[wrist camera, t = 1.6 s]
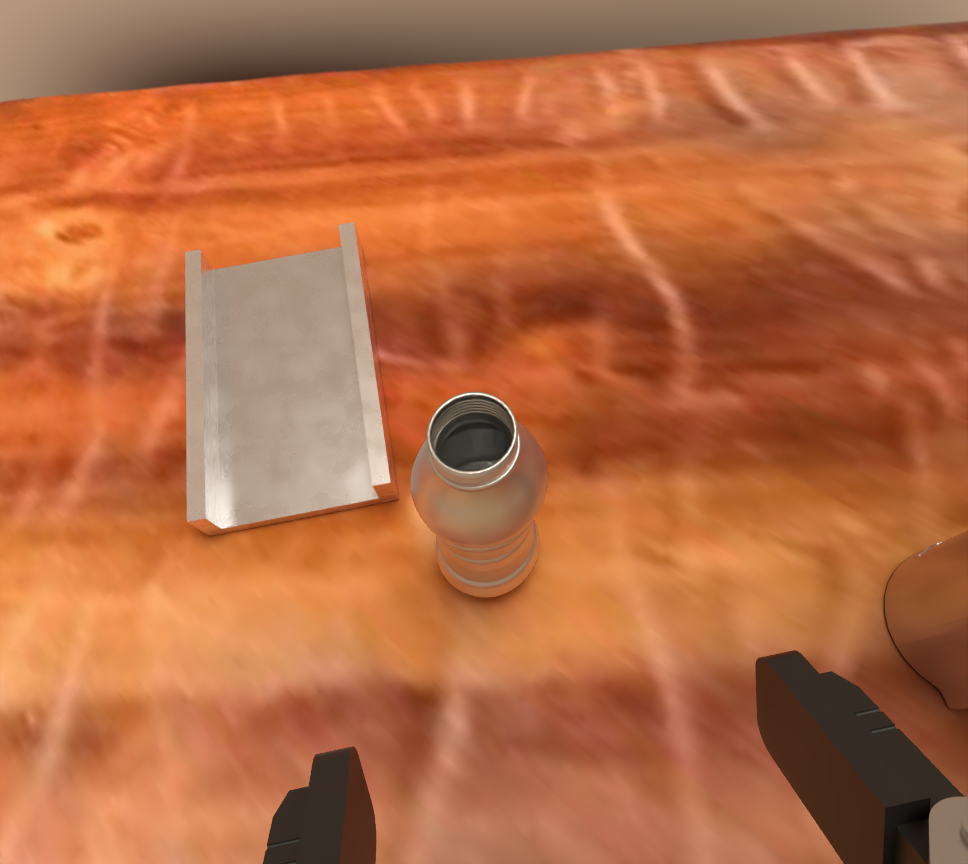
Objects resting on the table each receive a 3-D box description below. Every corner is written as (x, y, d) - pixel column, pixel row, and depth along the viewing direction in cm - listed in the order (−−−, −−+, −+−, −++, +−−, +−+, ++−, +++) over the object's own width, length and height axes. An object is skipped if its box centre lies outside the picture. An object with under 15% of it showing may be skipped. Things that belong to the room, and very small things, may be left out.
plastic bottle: (419, 556, 45) (353, 437, 26) (490, 487, 46) (474, 331, 28) (487, 626, 43) (467, 549, 24) (559, 551, 44) (590, 427, 26)
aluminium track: (399, 499, 46) (390, 482, 43) (209, 536, 46) (186, 521, 43) (363, 251, 55) (353, 222, 52) (204, 279, 55) (185, 252, 52)
